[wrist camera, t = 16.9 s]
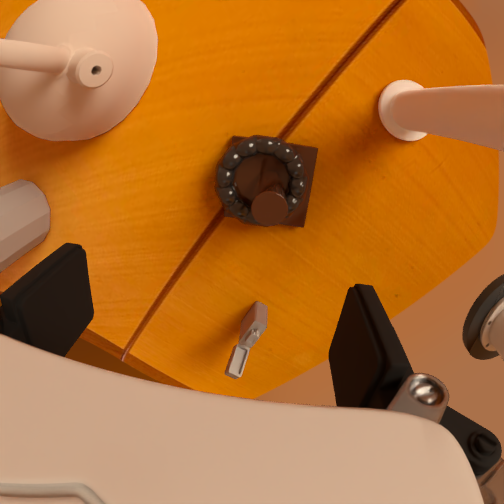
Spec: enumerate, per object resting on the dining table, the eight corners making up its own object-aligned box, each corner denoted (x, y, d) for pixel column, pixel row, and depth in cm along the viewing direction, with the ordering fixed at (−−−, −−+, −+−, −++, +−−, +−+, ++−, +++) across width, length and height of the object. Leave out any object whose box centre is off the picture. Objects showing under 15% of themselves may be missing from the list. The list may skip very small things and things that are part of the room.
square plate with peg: (316, 147, 33) (337, 161, 23) (303, 224, 37) (314, 268, 27) (233, 135, 33) (217, 144, 23) (224, 213, 37) (207, 253, 27)
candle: (365, 105, 31) (530, 111, 8) (405, 68, 28) (579, 40, 5) (405, 152, 32) (572, 231, 9) (442, 115, 30) (618, 153, 7)
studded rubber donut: (313, 142, 32) (315, 144, 30) (298, 227, 36) (300, 234, 34) (221, 130, 32) (218, 131, 30) (213, 216, 36) (209, 222, 34)
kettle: (123, 164, 35) (23, 210, 18) (9, 118, 32) (-89, 141, 15) (191, 5, 27) (128, -69, 10) (59, -16, 24) (-31, -48, 8)
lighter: (256, 300, 41) (253, 340, 34) (268, 306, 41) (267, 346, 34) (230, 336, 44) (223, 377, 36) (241, 341, 44) (236, 382, 37)
